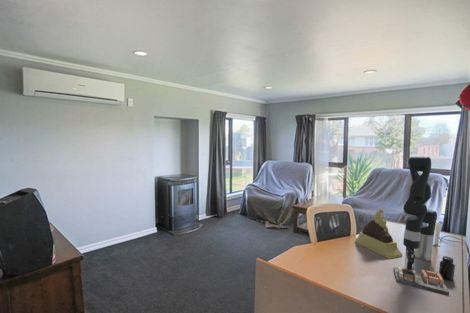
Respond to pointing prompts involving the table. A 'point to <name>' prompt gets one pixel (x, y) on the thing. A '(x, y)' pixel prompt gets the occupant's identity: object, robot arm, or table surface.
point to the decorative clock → (378, 238)
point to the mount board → (418, 281)
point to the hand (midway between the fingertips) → (408, 267)
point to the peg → (406, 267)
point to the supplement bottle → (447, 268)
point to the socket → (432, 277)
